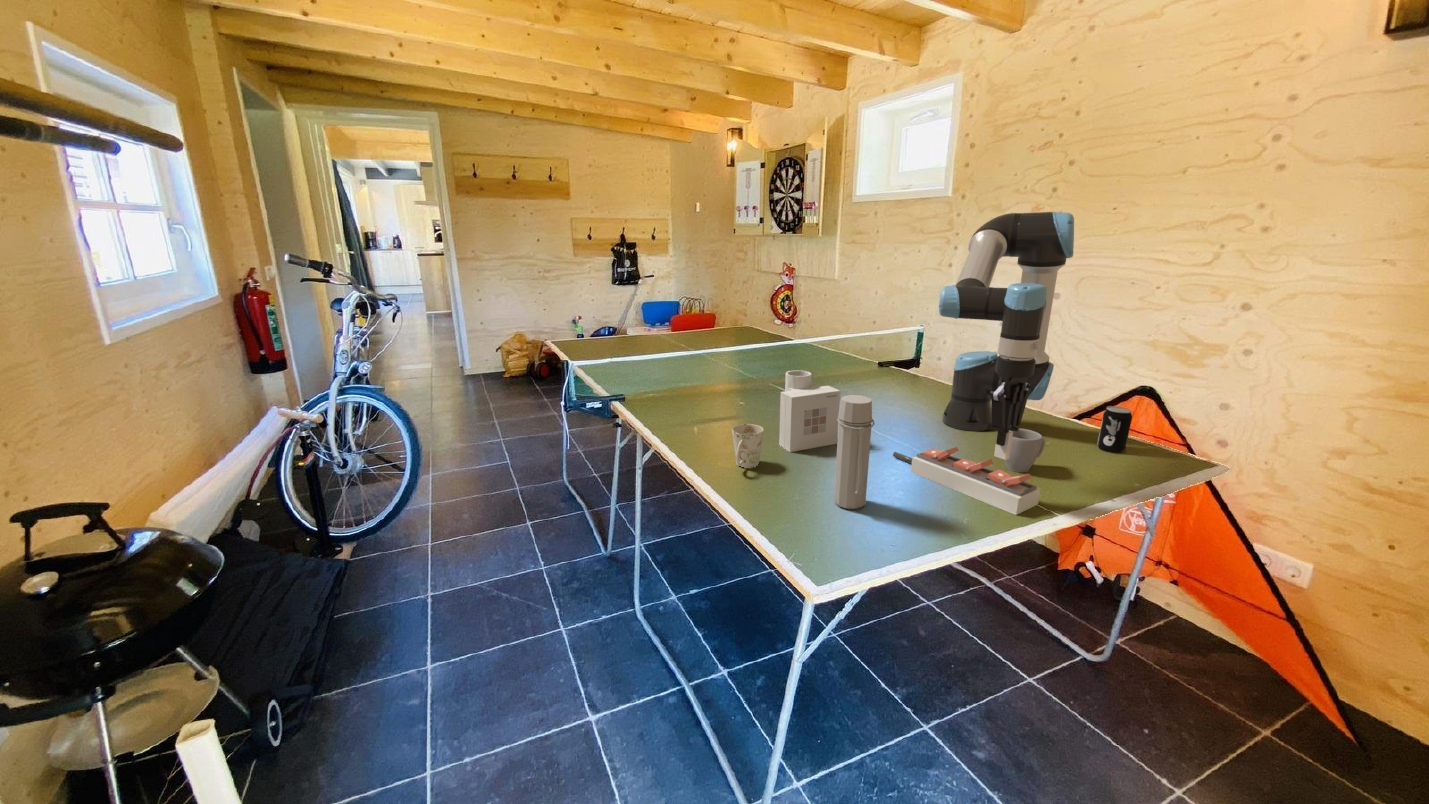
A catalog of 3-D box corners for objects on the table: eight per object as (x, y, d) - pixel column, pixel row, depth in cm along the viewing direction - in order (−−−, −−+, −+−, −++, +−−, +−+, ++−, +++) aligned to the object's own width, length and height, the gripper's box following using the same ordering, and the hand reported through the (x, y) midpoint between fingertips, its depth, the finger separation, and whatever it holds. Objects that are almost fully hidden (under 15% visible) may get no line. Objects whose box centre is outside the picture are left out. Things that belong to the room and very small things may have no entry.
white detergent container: (790, 452, 158) (792, 384, 152) (758, 432, 175) (759, 369, 169) (837, 443, 165) (841, 377, 159) (803, 425, 181) (805, 364, 175)
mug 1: (766, 460, 153) (767, 425, 150) (754, 478, 142) (754, 441, 139) (737, 456, 156) (737, 422, 153) (722, 474, 144) (722, 438, 141)
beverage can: (1129, 454, 155) (1138, 413, 152) (1102, 452, 156) (1111, 412, 153) (1117, 446, 161) (1126, 406, 158) (1092, 444, 163) (1100, 405, 159)
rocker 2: (987, 483, 130) (986, 473, 129) (998, 478, 132) (997, 469, 132) (1020, 488, 123) (1019, 478, 123) (1031, 483, 125) (1031, 473, 125)
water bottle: (828, 497, 132) (834, 394, 124) (860, 495, 132) (868, 393, 125) (839, 516, 123) (846, 407, 116) (874, 514, 123) (883, 406, 116)
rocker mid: (953, 471, 137) (951, 462, 137) (964, 467, 139) (963, 458, 139) (983, 473, 130) (981, 463, 130) (994, 468, 132) (992, 459, 132)
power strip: (883, 460, 152) (884, 444, 151) (905, 453, 157) (906, 437, 155) (1015, 515, 123) (1019, 495, 121) (1037, 504, 127) (1041, 485, 126)
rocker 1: (923, 461, 144) (921, 452, 144) (934, 457, 146) (932, 448, 146) (949, 459, 137) (946, 450, 137) (960, 455, 140) (958, 446, 140)
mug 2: (1017, 477, 141) (1023, 441, 139) (990, 464, 149) (995, 430, 147) (1054, 470, 145) (1060, 435, 142) (1026, 458, 153) (1031, 425, 150)
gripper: (1016, 364, 115) (1000, 469, 122) (1050, 355, 122) (1033, 455, 129) (982, 357, 121) (969, 458, 128) (1016, 349, 128) (1001, 445, 135)
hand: (1001, 457), depth 128 cm, fingers closed
